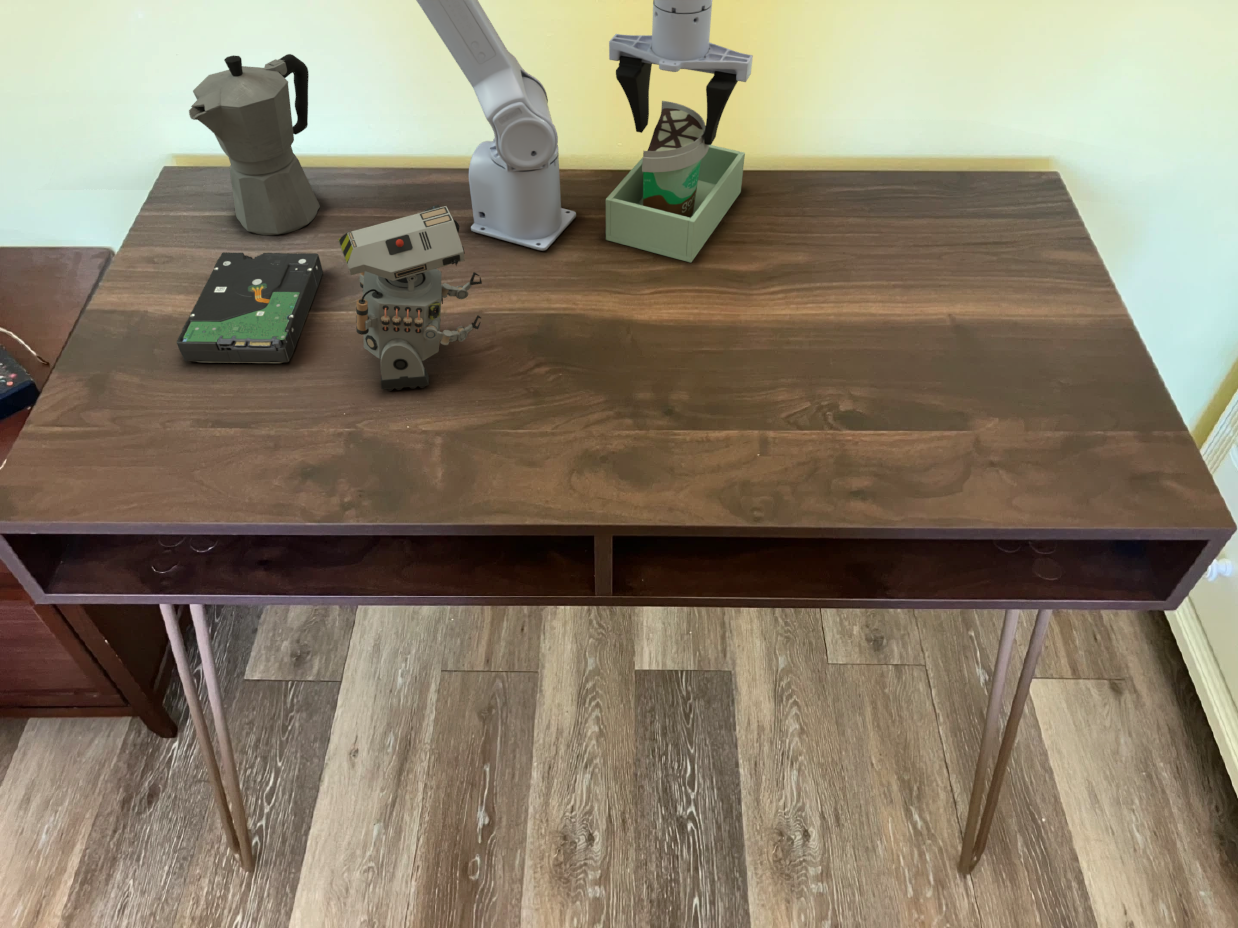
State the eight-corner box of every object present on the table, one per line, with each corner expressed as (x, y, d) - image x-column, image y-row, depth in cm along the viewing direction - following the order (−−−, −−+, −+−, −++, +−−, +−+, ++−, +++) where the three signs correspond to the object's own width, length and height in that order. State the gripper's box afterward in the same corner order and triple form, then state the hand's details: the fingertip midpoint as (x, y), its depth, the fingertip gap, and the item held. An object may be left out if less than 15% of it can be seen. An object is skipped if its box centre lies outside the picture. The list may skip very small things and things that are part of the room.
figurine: (490, 383, 88) (472, 247, 77) (365, 394, 86) (329, 257, 75) (486, 323, 94) (470, 188, 83) (370, 332, 93) (337, 197, 82)
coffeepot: (265, 255, 101) (213, 93, 88) (205, 229, 105) (146, 70, 92) (362, 190, 110) (328, 35, 97) (304, 168, 114) (263, 15, 101)
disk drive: (227, 274, 99) (183, 365, 89) (219, 251, 97) (173, 341, 87) (325, 274, 99) (292, 364, 89) (319, 251, 97) (285, 341, 87)
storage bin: (605, 239, 104) (605, 199, 100) (661, 172, 113) (663, 133, 110) (691, 262, 101) (694, 221, 97) (740, 192, 110) (745, 152, 107)
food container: (695, 243, 102) (702, 159, 95) (640, 237, 103) (642, 153, 96) (710, 185, 110) (717, 103, 103) (659, 179, 111) (662, 98, 104)
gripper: (597, 7, 90) (599, 139, 99) (744, 29, 86) (731, 164, 96) (622, -20, 94) (621, 110, 104) (763, 0, 91) (748, 132, 101)
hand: (675, 134), depth 100 cm, fingers open, 7 cm apart
